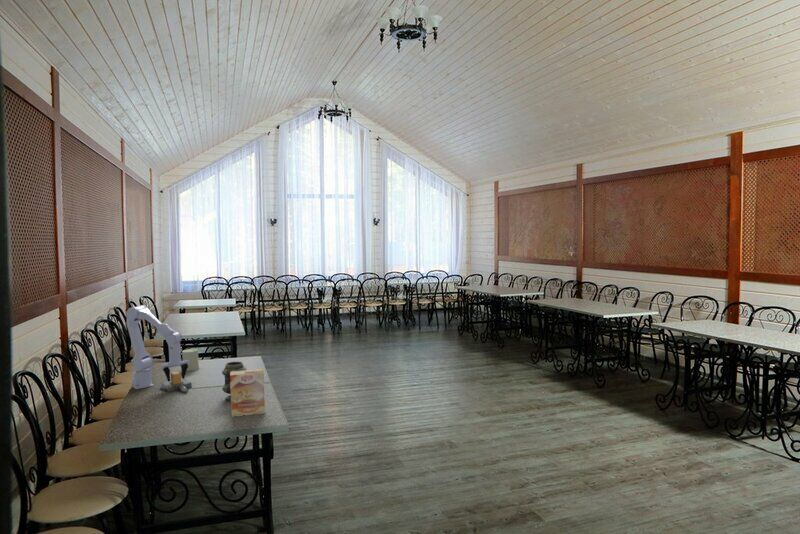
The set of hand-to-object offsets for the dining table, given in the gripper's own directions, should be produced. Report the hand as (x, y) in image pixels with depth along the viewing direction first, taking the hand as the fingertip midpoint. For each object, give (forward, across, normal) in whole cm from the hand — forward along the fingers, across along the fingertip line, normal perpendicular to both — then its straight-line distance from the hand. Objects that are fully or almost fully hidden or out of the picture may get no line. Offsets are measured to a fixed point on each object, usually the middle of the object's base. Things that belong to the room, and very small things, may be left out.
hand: (176, 379), depth 299 cm
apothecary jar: (+4, +15, -41) cm, 44 cm away
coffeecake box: (+4, +10, -66) cm, 67 cm away
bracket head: (+4, 0, -4) cm, 6 cm away
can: (+5, +20, +33) cm, 39 cm away
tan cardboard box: (+4, 0, 0) cm, 4 cm away
